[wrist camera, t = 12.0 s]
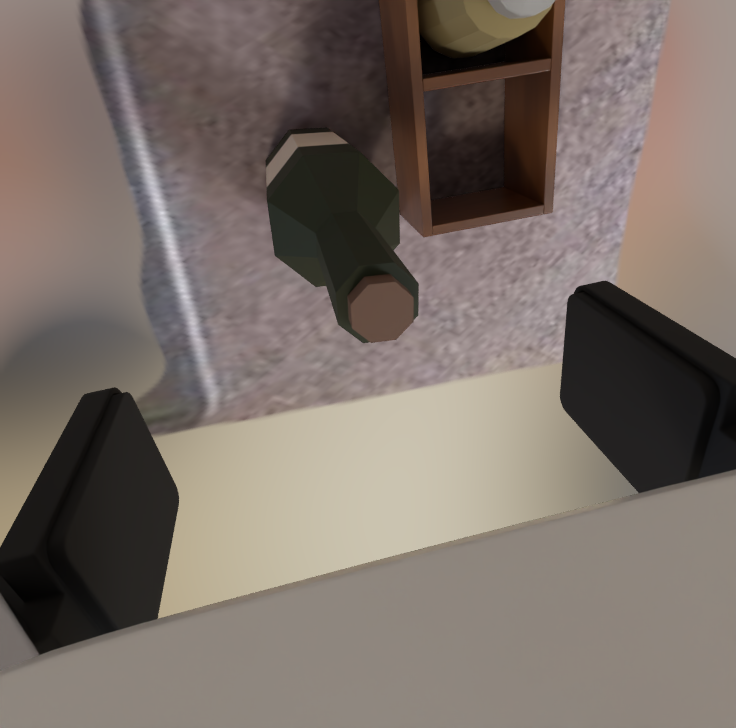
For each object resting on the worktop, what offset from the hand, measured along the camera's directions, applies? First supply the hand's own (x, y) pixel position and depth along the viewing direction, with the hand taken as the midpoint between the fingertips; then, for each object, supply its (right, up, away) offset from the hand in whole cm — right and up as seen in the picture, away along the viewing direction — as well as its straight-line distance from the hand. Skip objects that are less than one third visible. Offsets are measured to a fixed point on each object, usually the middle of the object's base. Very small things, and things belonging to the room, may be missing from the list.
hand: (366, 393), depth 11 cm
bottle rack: (+7, +25, +31) cm, 41 cm away
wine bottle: (-5, +17, +33) cm, 38 cm away
